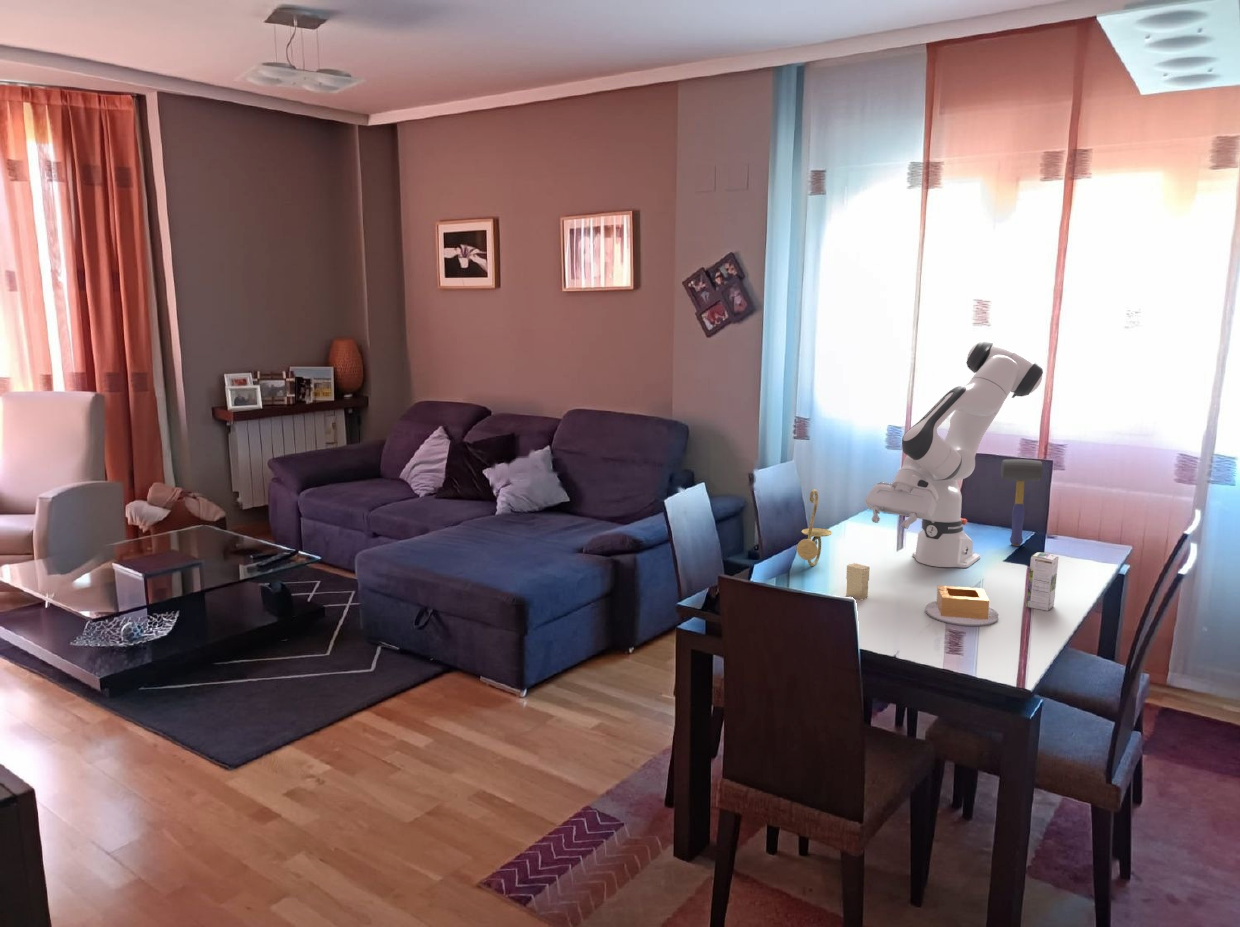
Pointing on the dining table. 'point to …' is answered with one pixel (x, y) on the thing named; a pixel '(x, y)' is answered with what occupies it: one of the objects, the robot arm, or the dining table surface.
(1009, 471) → the rubber mallet
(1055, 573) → the syrup box
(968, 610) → the socket
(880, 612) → the dining table surface
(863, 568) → the wedge
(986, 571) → the dining table surface
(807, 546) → the wall sconce
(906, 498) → the robot arm
